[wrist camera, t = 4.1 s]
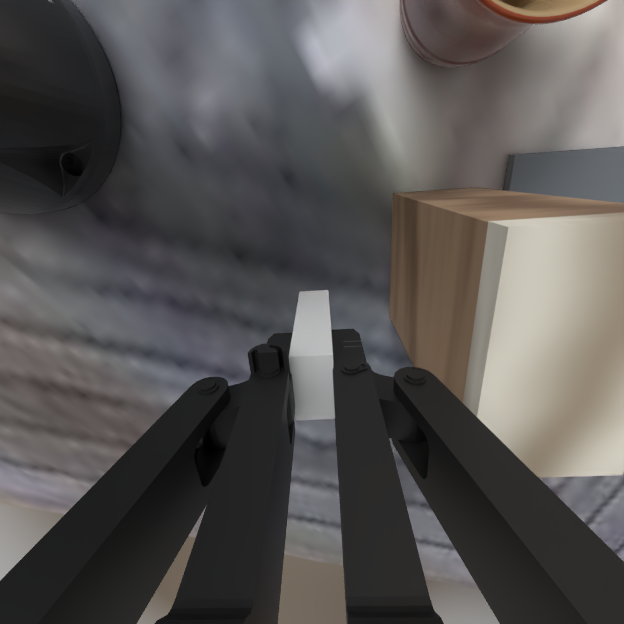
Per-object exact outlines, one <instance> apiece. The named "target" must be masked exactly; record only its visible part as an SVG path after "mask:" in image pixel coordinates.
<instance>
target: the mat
mask: <svg viewBox="0 0 624 624" xmlns="http://www.w3.org/2000/svg"><path fill="white" fill-rule="evenodd" d="M504 191H514V192H523V193H533V194H542V195H551V196H561V197H570V198H580V199H589V200H598V201H608V202H617V203H624V147H610V148H597V149H583V150H570V151H556V152H543V153H529V154H516V155H509V158H508V164H507V171H506V177H505V184H504Z"/></svg>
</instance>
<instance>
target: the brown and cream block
mask: <svg viewBox="0 0 624 624" xmlns="http://www.w3.org/2000/svg"><path fill="white" fill-rule="evenodd" d="M389 317H390V319H391V321H392V323H393V325H394V327H395V329H396V331H397V333H398V335H399V337H400V339H401V342H402V344H403V346H404V348H405V350H406V352H407V354H408V356H409V358H410V360H411V362H412V364H413V366H414V367H419V368H422V369H425V370H428V371H429V372H431V373H432V374H434V375H435V376H436V377H437V378H438V379H439V380H440V381H441V382H442V383H443V384H444V385H445V386H446V387H447V388H448V389H449V390H450V391H451V392H452V393H453V394H454V395H455V396H456V397H457V398H458V399H459V400H460V401H461V402H462V403H463V404H464V405H465V406H466V407H467V408H468V409H469V410H470V411H471V412H472V413H473V414H474V415H475V416H476V417H477V418H478V419H479V420H480V421H481V422H482V423H483V424H484V425H485V426H486V427H487V428H488V429H490V430H491V431H492V432H493V433H494V434H495V435H496V436H497V437H498V438H499V439H500V440H501V441H502V442H503V443H504V444H505V445H506V446H507V447H508V448H509V449H510V450H511V451H512V452H513V453H514V454H515V455H516V456H517V457H518V458H519V459H520V460H521V461H522V462H523V463H524V464H525V465H526V466H527V467H528V468H529V469H530V470H531V471H532V472H533V473H534V474H535V475H536V476H537V477H538V478H540V477H573V476H606V475H622V474H623V472H624V203H617V202H608V201H598V200H589V199H580V198H570V197H561V196H551V195H542V194H533V193H523V192H514V191H504V190H495V189H485V188H461V189H447V190H433V191H419V192H404V193H393V211H392V246H391V281H390V316H389Z"/></svg>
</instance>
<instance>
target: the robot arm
mask: <svg viewBox="0 0 624 624" xmlns="http://www.w3.org/2000/svg"><path fill="white" fill-rule="evenodd" d="M120 132H121V115H120V105H119V99H118V93H117V89H116V84H115V81H114V78H113V74H112V71H111V68H110V66H109V63H108V61H107V58H106V56H105V53H104V51H103V49H102V47H101V45H100V43H99V41H98V39H97V38H96V36H95V34H94V32H93V31H92V29H91V27H90V26H89V24H88V23H87V21H86V20H85V18H84V17H83V16H82V14H81V13H80V11H79V10H78V9H77V8H76V6H75V5H74V4H73V3H72V2H71V0H0V213H7V214H37V213H44V212H51V211H57V210H62V209H66V208H69V207H72V206H75V205H77V204H79V203H81V202H83V201H84V200H86V199H87V198H89V197H90V196H91V195H92V194H94V193H95V192H96V191H97V190H98V189H99V188H100V186H101V185H102V184H103V183H104V181H105V180H106V178H107V177H108V175H109V173H110V171H111V169H112V167H113V165H114V162H115V159H116V156H117V152H118V147H119V142H120ZM248 358H249V364H250V370H251V376H250V379H249V380H248V381H245V382H243V383H239V384H235V385H231V386H228V382H227V381H226V380H225V379H224V378H221V377H208V378H204V379H202V380H200V381H197V382H196V383H194V384H193V385H192V386H191V387H190V388H189V389H188V390H187V391H186V392H185V393H184V394H183V395H182V396H181V397H180V398H179V399H178V400H177V401H176V402H175V403H174V404H173V405H172V406H171V407H170V408H169V409H168V410H167V411H166V412H165V413H164V414H163V415H162V416H161V417H160V418H159V419H158V420H157V421H156V422H155V423H154V424H153V425H152V426H151V427H150V428H149V429H148V430H147V431H146V433H145V434H144V435H143V436H142V437H141V438H140V439H139V440H138V441H137V442H136V443H135V444H134V445H133V446H132V447H131V448H130V449H129V450H128V451H127V452H126V453H125V454H124V455H123V456H122V457H121V458H120V459H119V460H118V461H117V462H116V463H115V464H114V465H113V466H112V467H111V468H110V469H109V470H108V471H107V472H106V473H105V474H104V475H103V476H102V477H101V478H100V479H99V481H98V482H97V483H96V484H95V485H94V486H93V487H92V488H91V489H90V490H89V491H88V492H87V493H86V494H85V495H84V496H83V497H82V498H81V499H80V500H79V501H78V502H77V503H76V504H75V505H74V506H73V507H72V508H71V509H70V510H69V511H68V512H67V513H66V514H65V515H64V516H63V517H62V518H61V519H60V520H59V521H58V522H57V523H56V525H55V526H53V528H52V529H51V530H50V531H49V532H48V533H47V534H46V535H45V536H44V537H43V538H42V539H41V540H40V541H39V542H38V543H37V544H36V545H35V546H34V547H33V548H32V549H31V550H30V551H29V552H28V553H27V554H26V555H25V556H24V557H23V558H22V559H21V560H20V561H19V562H18V563H17V564H16V565H15V566H14V567H13V568H12V569H11V570H10V571H9V572H8V573H7V574H6V576H5V577H4V578H3V579H2V580H1V581H0V624H137V622H138V620H139V618H140V617H141V615H142V613H143V612H144V610H145V608H146V607H147V605H148V603H149V602H150V600H151V598H152V596H153V595H154V593H155V591H156V590H157V588H158V586H159V585H160V583H161V581H162V579H163V578H164V576H165V574H166V573H167V571H168V569H169V568H170V566H171V564H172V563H173V561H174V559H175V558H176V556H177V554H178V552H179V551H180V549H181V547H182V545H183V544H184V542H185V540H186V539H187V537H188V535H189V534H190V532H191V530H192V529H193V527H194V525H195V524H196V522H197V520H198V519H199V517H200V515H201V513H202V512H203V510H204V508H205V507H206V509H205V512H204V515H203V518H202V521H201V524H200V527H199V530H198V533H197V536H196V539H195V542H194V545H193V548H192V551H191V554H190V557H189V560H188V563H187V566H186V569H185V572H184V575H183V578H182V581H181V584H180V587H179V590H178V593H177V596H176V599H175V601H174V604H173V606H172V609H171V610H170V612H169V613H168V615H166V616H164V617H163V618H161V619H159V620H157V621H156V623H155V624H278V613H279V602H280V592H281V580H282V570H283V559H284V548H285V537H286V526H287V515H288V504H289V493H290V482H291V471H292V460H293V449H294V438H295V425H294V414H295V419H296V420H322V419H335V427H336V446H337V462H338V479H339V497H340V514H341V532H342V549H343V566H344V582H345V600H346V618H347V624H444V623H443V621H442V619H441V617H440V616H439V615H438V614H437V613H436V612H435V611H434V609H433V606H432V604H431V600H430V597H429V593H428V589H427V586H426V581H425V577H424V573H423V570H422V566H421V562H420V558H419V554H418V550H417V546H416V542H415V538H414V534H413V530H412V527H411V523H410V519H409V515H408V511H407V507H406V503H405V499H404V495H403V491H402V487H401V484H400V480H399V476H398V472H397V468H396V464H395V460H394V456H393V452H392V448H391V445H390V441H389V438H392V442H393V445H394V446H395V448H396V450H397V451H398V453H399V455H400V456H401V458H402V460H403V461H404V463H405V465H406V467H407V468H408V470H409V472H410V473H411V475H412V477H413V478H414V480H415V482H416V483H417V485H418V487H419V488H420V490H421V492H422V493H423V495H424V497H425V498H426V500H427V502H428V503H429V505H430V507H431V509H432V510H433V512H434V514H435V515H436V517H437V519H438V520H439V522H440V524H441V525H442V527H443V529H444V530H445V532H446V534H447V535H448V537H449V539H450V540H451V542H452V544H453V546H454V547H455V549H456V551H457V552H458V554H459V556H460V557H461V559H462V561H463V562H464V564H465V566H466V567H467V569H468V571H469V572H470V574H471V576H472V577H473V579H474V581H475V582H476V584H477V586H478V588H479V589H480V591H481V593H482V594H483V596H484V597H485V599H486V601H487V603H488V604H489V606H490V608H491V609H492V611H493V613H494V614H495V616H496V618H497V619H498V621H499V623H500V624H624V562H623V561H622V560H621V559H620V558H619V557H618V556H617V555H616V554H615V553H614V552H613V551H612V550H611V549H610V548H609V547H608V546H607V545H606V544H605V543H604V542H603V541H602V540H601V539H600V538H599V537H598V536H597V535H596V534H595V533H594V532H593V531H592V530H591V529H590V528H589V527H588V526H587V525H586V524H585V523H584V522H583V521H582V520H581V519H580V518H579V517H578V516H577V515H576V514H575V513H574V512H573V511H572V510H571V509H570V508H569V507H568V506H567V505H566V504H565V503H563V502H562V501H561V500H560V499H559V498H558V497H557V496H556V495H555V494H554V493H553V492H552V491H551V490H550V489H549V488H548V487H547V486H546V485H545V484H544V483H543V482H542V481H541V480H540V479H539V478H538V477H537V476H536V475H535V474H534V473H533V472H532V471H531V470H530V469H529V468H528V467H527V466H526V465H525V464H524V463H523V462H522V461H521V460H520V459H519V458H518V457H517V456H516V455H515V454H514V453H513V452H512V451H511V450H510V449H509V448H508V447H507V446H506V445H505V444H504V443H503V442H502V441H501V440H500V439H499V438H498V437H497V436H496V435H495V434H494V433H493V432H492V431H491V430H490V429H488V428H487V427H486V426H485V425H484V424H483V423H482V422H481V421H480V420H479V419H478V418H477V417H476V416H475V415H474V414H473V413H472V412H471V411H470V410H469V409H468V408H467V407H466V406H465V405H464V404H463V403H462V402H461V401H460V400H459V399H458V398H457V397H456V396H455V395H454V394H453V393H452V392H451V391H450V390H449V389H448V388H447V387H446V386H445V385H444V384H443V383H442V382H441V381H440V380H439V379H438V378H437V377H436V376H435V375H434V374H432V373H431V372H429V371H428V370H425V369H422V368H419V367H405V368H402V369H399V370H398V371H397V372H395V375H394V377H388V376H383V375H379V374H377V373H375V372H373V371H372V370H371V367H370V366H369V364H367V363H366V359H365V355H364V351H363V347H362V343H361V339H360V334H359V333H358V332H357V331H355V330H354V329H340V330H331V321H330V307H329V293H328V290H318V291H300V292H299V298H298V304H297V310H296V316H295V322H294V328H293V333H278V334H273V335H272V336H271V337H270V338H269V339H268V341H267V344H261V345H258V346H256V347H254V348H252V349H251V350H250V351H249V352H248ZM206 505H207V506H206Z"/></svg>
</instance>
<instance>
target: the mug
mask: <svg viewBox="0 0 624 624" xmlns="http://www.w3.org/2000/svg"><path fill="white" fill-rule="evenodd" d="M606 1H607V0H400V16H401V22H402V26H403V30H404V33H405V35H406V38H407V40H408V42H409V43H410V45H411V47H412V48H413V49H414V51H415V52H416V53H417V54H418V55H419V56H420V57H421V58H423V59H424V60H425V61H427V62H429V63H431V64H433V65H436V66H440V67H446V68H452V67H459V66H464V65H467V64H472V63H476V62H479V61H482V60H484V59H486V58H488V57H490V56H492V55H494V54H495V53H497V52H498V51H500V50H501V49H502V48H503V47H505V46H506V45H507V44H508V43H510V42H511V41H512V40H514V39H515V38H517V37H518V36H519V35H521V34H522V33H524V32H525V31H526V30H527V29H529V28H530V27H531V26H532V25H538V24H547V23H555V22H559V21H563V20H567V19H570V18H573V17H575V16H578V15H581V14H583V13H585V12H587V11H589V10H592V9H594V8H595V7H597V6H599V5H601V4H602V3H604V2H606Z"/></svg>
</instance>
